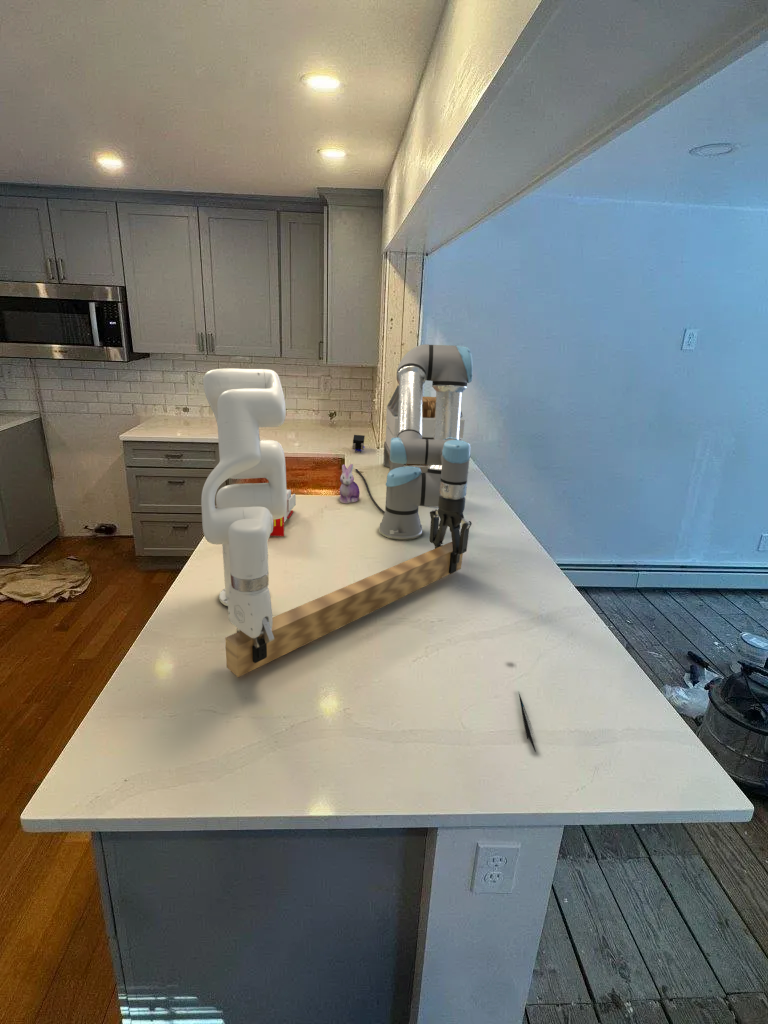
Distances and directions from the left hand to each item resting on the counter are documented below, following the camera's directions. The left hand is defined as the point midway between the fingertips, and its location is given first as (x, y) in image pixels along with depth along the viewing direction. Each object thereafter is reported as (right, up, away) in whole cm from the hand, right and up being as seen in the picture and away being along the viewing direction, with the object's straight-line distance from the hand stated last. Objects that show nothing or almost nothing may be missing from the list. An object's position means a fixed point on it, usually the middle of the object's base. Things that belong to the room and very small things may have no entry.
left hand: (252, 653), depth 122 cm
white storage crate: (+45, +49, +153) cm, 167 cm away
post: (+23, +5, +24) cm, 34 cm away
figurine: (+14, +35, +110) cm, 116 cm away
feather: (+56, -9, -6) cm, 57 cm away
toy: (-11, +27, +84) cm, 88 cm away
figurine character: (+14, +64, +191) cm, 202 cm away
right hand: (+47, +13, +47) cm, 68 cm away
